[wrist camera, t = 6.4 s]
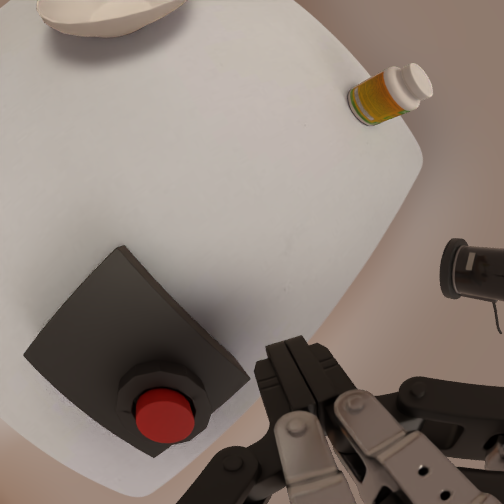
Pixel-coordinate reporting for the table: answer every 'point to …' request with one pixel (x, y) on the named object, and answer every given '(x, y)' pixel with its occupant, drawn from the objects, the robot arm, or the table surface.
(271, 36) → the table surface
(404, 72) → the supplement bottle
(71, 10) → the bowl
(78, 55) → the table surface
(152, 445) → the red push button box
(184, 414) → the power button
